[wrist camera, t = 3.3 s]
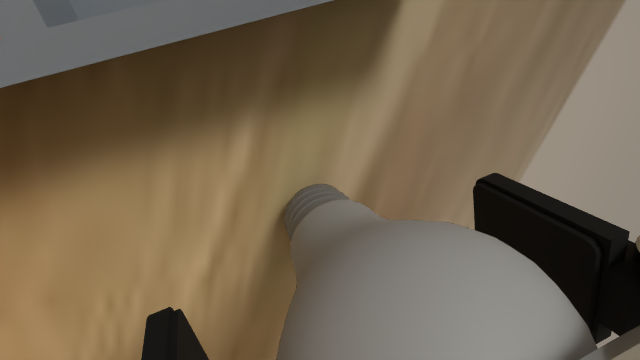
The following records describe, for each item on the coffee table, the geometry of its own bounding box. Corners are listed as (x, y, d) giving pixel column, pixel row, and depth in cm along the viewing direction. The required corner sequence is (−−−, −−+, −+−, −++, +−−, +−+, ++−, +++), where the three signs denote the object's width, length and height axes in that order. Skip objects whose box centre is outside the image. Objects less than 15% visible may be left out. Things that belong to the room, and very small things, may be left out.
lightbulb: (389, 131, 14) (804, 338, 5) (367, 262, 16) (622, 588, 7) (232, 128, 12) (396, 488, 3) (231, 278, 14) (318, 777, 5)
